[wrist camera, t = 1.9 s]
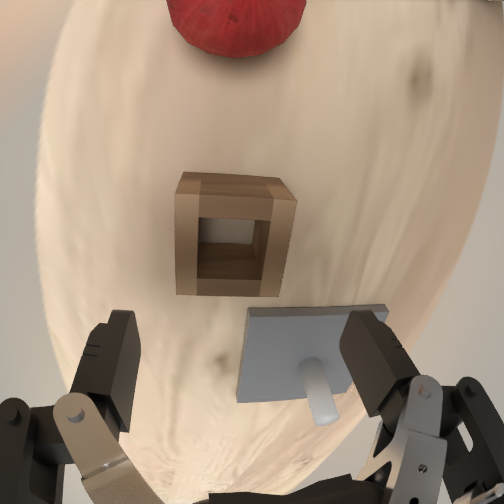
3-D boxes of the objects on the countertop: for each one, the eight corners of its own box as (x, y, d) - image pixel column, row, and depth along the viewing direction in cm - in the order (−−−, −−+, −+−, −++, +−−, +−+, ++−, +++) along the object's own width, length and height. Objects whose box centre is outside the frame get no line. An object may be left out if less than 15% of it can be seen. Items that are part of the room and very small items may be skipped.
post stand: (248, 307, 22) (262, 385, 15) (384, 304, 23) (422, 362, 17) (236, 395, 27) (243, 455, 21) (343, 385, 29) (362, 436, 23)
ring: (183, 172, 16) (174, 193, 13) (279, 178, 17) (297, 200, 13) (181, 256, 19) (176, 294, 15) (266, 259, 20) (278, 296, 16)
